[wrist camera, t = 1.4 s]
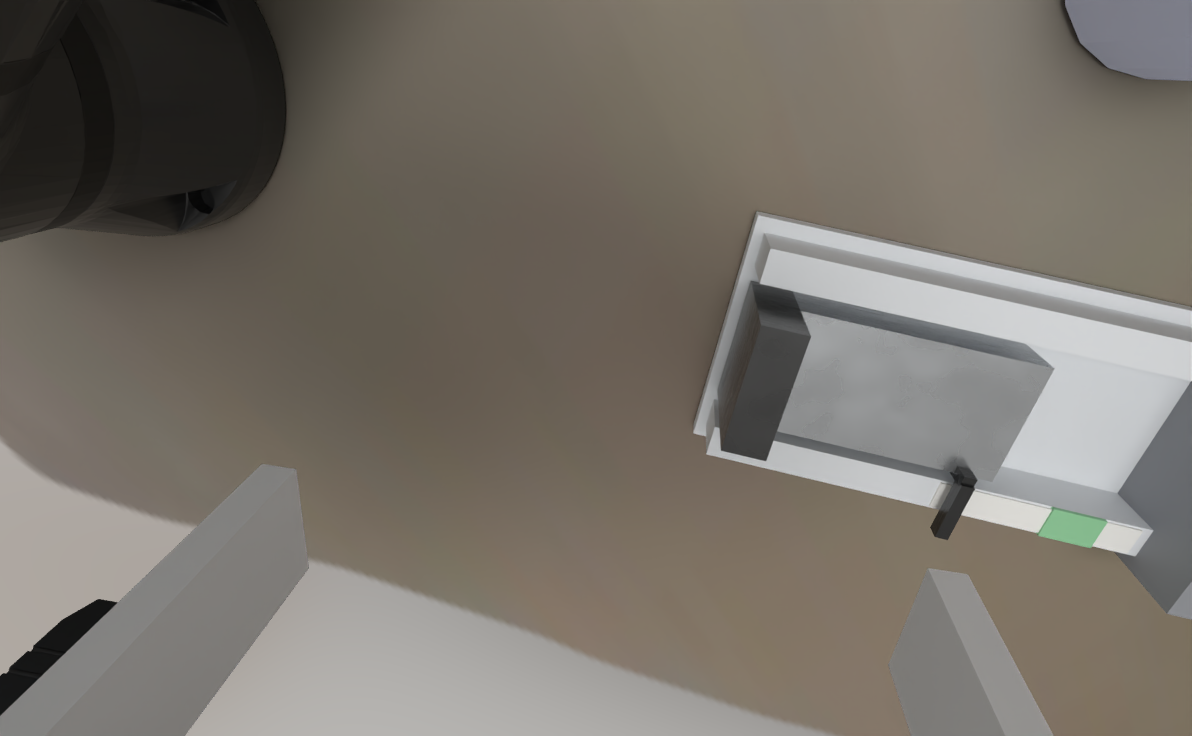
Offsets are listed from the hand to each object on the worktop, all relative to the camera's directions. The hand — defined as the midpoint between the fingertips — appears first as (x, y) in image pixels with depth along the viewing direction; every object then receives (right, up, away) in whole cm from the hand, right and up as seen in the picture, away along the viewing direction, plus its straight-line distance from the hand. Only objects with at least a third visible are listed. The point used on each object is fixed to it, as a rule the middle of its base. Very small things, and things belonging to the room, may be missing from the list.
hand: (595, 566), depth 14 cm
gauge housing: (+18, +4, +20) cm, 27 cm away
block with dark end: (+13, +3, +19) cm, 23 cm away
